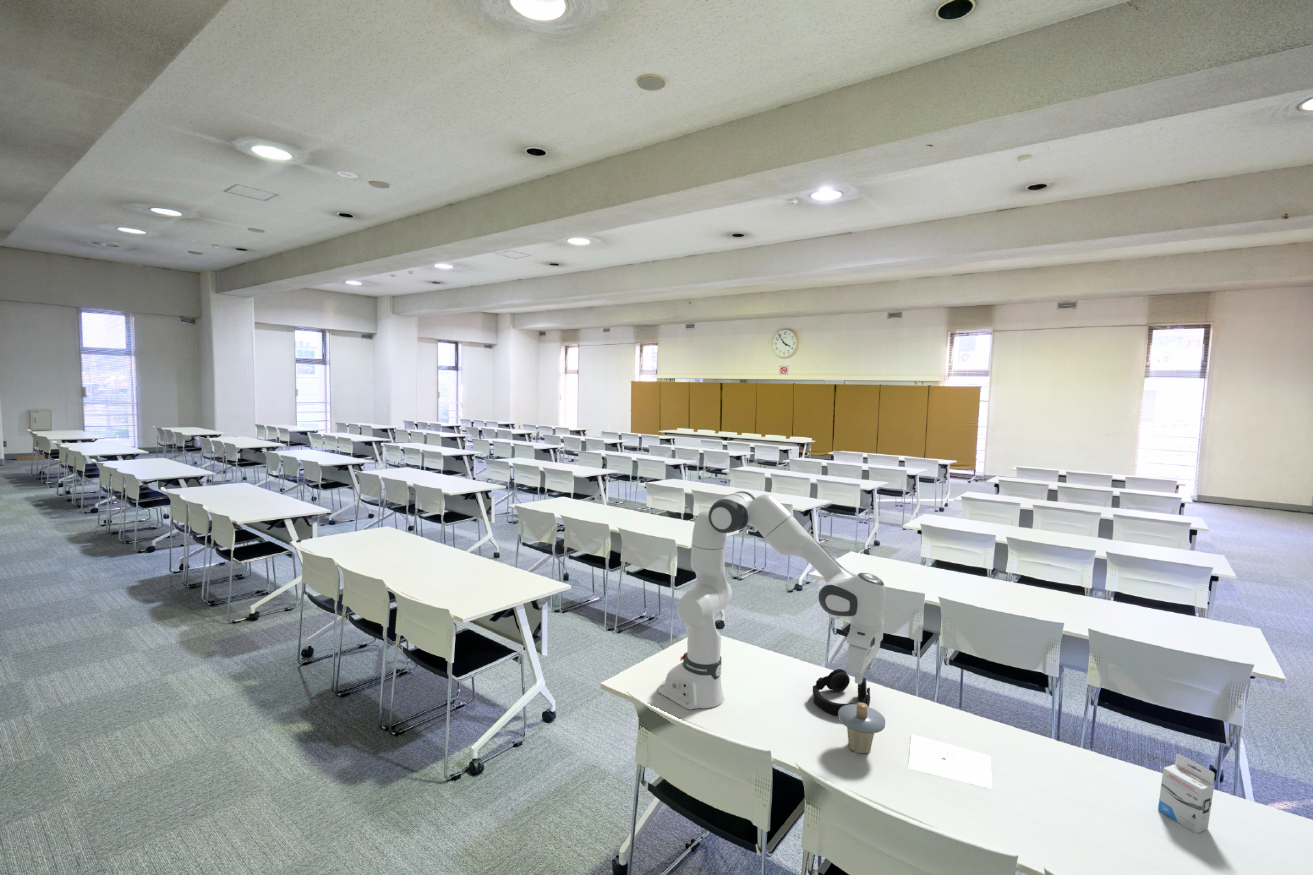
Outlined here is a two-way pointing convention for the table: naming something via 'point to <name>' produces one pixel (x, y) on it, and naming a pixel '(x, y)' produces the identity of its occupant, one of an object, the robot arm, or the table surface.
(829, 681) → the headphones
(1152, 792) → the table surface
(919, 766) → the paper sheet
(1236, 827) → the table surface
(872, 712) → the lid
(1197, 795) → the ink box
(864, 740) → the flower pot
